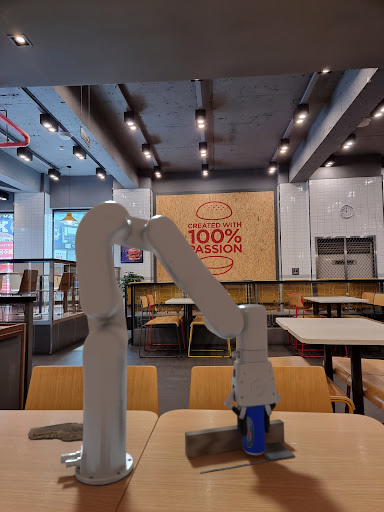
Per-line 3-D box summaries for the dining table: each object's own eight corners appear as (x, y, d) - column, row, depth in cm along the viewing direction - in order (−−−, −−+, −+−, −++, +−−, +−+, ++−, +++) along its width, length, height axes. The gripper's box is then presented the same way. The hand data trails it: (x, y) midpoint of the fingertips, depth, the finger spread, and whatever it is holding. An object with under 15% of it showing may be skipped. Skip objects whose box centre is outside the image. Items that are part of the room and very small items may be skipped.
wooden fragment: (16, 440, 89) (16, 436, 89) (39, 423, 100) (39, 419, 100) (110, 445, 87) (110, 440, 87) (123, 427, 98) (123, 423, 98)
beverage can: (239, 448, 81) (237, 385, 83) (256, 443, 84) (255, 382, 85) (251, 458, 77) (249, 391, 78) (269, 453, 79) (267, 387, 80)
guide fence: (196, 474, 72) (195, 449, 73) (185, 453, 81) (185, 432, 82) (300, 456, 80) (300, 434, 80) (280, 438, 88) (279, 419, 89)
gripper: (225, 361, 76) (226, 444, 75) (291, 356, 81) (293, 434, 79) (214, 354, 83) (215, 430, 82) (275, 350, 88) (277, 421, 86)
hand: (253, 431), depth 81 cm, fingers closed on beverage can, 5 cm apart
